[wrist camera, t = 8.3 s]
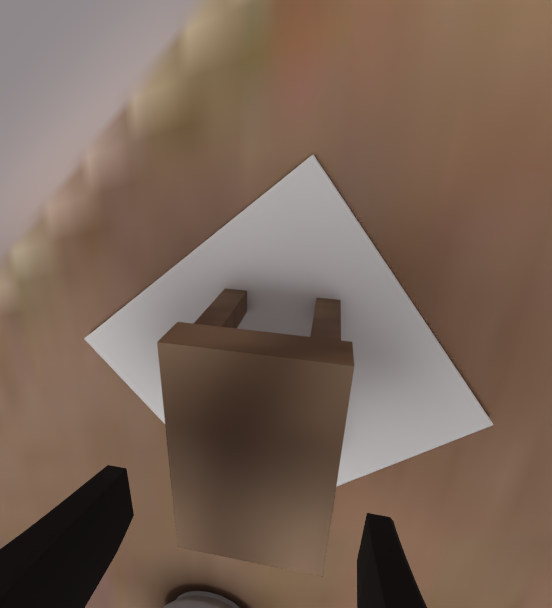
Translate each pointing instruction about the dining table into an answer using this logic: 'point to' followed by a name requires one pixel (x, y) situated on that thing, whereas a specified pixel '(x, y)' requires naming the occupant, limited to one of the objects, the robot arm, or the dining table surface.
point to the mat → (309, 319)
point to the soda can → (201, 601)
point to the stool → (255, 433)
